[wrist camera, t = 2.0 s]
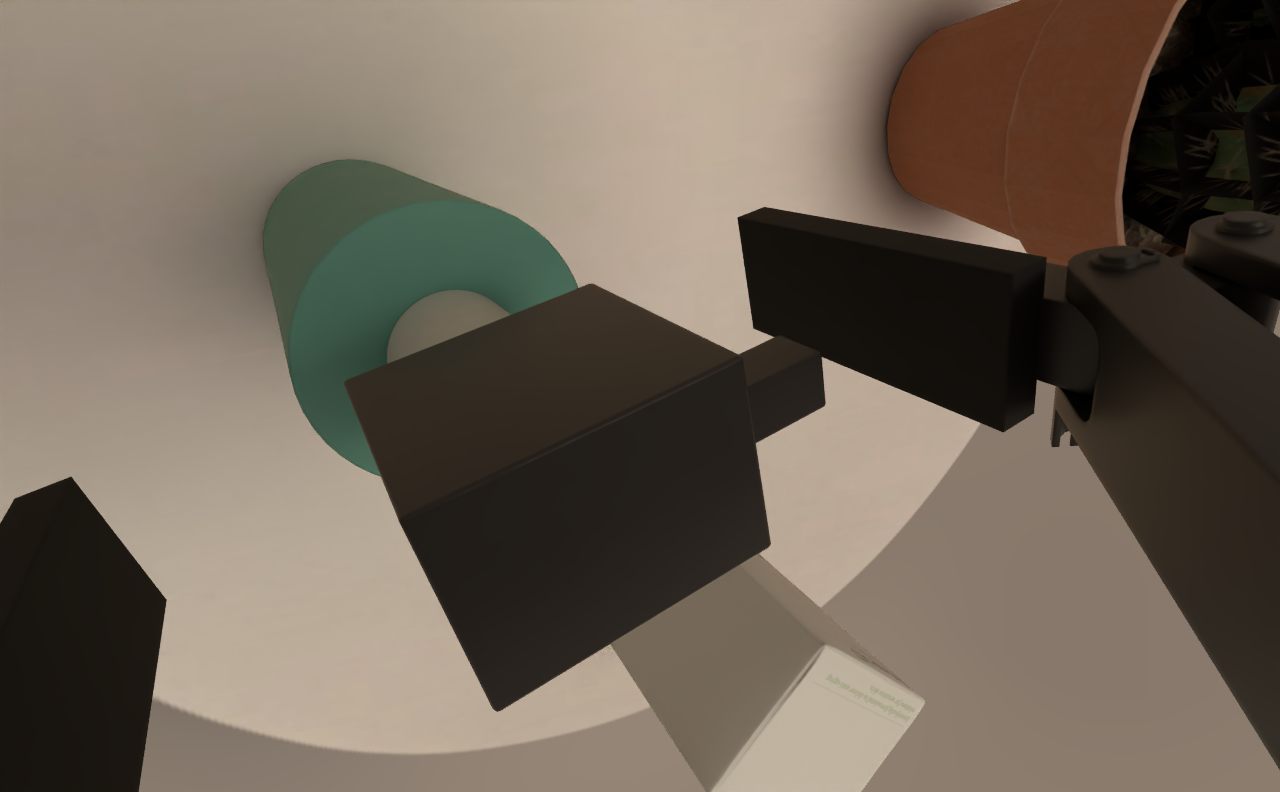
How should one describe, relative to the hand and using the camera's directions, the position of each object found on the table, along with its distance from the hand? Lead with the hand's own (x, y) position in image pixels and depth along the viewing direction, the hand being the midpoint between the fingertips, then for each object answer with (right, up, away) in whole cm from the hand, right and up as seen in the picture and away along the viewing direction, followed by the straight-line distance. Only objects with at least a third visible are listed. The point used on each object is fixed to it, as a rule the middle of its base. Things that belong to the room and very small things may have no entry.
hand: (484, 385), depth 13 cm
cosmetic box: (+2, -7, +23) cm, 24 cm away
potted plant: (+20, +15, +24) cm, 34 cm away
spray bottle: (-7, +5, +12) cm, 15 cm away
